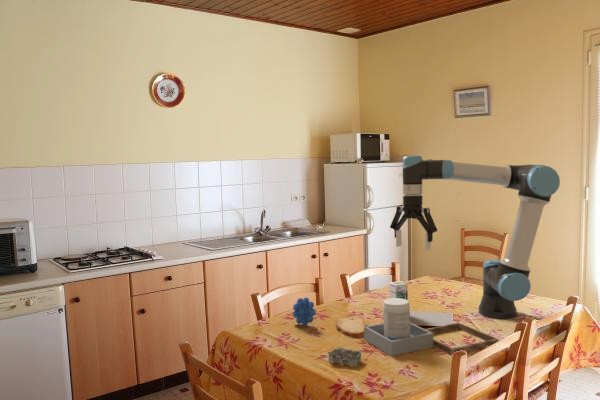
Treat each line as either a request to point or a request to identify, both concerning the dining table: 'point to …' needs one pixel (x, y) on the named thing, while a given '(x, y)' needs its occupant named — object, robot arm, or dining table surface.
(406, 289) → the syrup box
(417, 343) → the grey bin
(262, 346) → the dining table surface
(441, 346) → the rim
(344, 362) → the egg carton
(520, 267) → the robot arm
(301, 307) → the grapes
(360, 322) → the bread slice
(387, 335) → the supplement tub
